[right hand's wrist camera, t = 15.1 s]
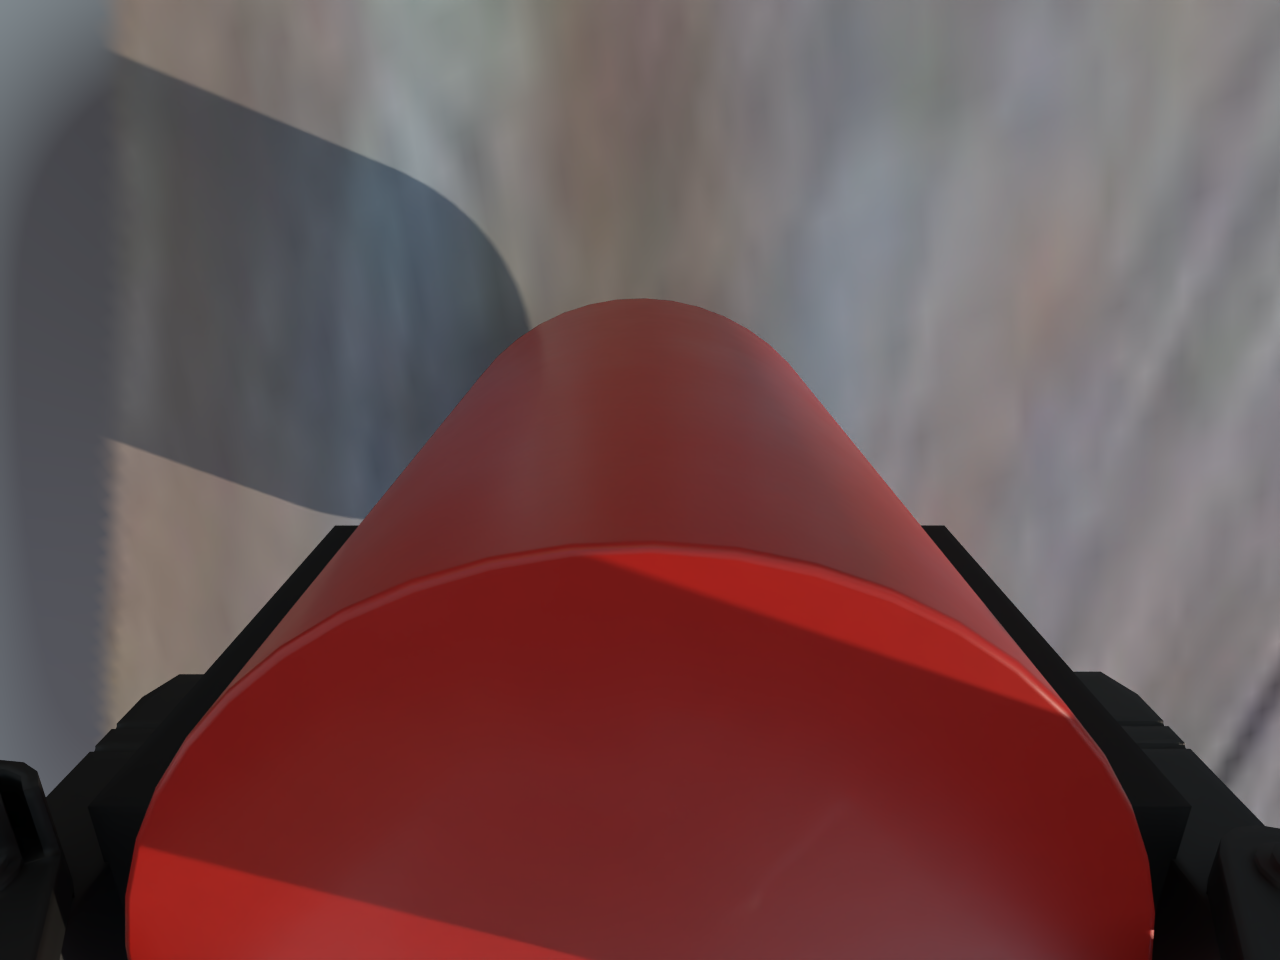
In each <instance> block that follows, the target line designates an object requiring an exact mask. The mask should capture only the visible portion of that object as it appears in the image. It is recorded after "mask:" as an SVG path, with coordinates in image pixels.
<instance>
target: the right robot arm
mask: <svg viewBox="0 0 1280 960" xmlns="http://www.w3.org/2000/svg"><path fill="white" fill-rule="evenodd" d="M357 527H358V526H334V528H333V529H332V530H331V531H330V532H329V533H328V534H327V535H326V537H325V538H324V539H323V540H322V541H321V542H320V543H319V545H318V546H317V547H316V548H315V549H314V550H313V551H312V552H311V554H310V555H309V556H308V557H307V558H306V559H305V560H304V562H303V563H302V564H301V565H300V566H299V567H298V568H297V569H296V571H295V572H294V573H293V574H292V575H291V576H290V577H289V579H288V580H287V581H286V582H285V583H284V584H283V585H282V586H281V588H280V589H279V590H278V591H277V592H276V593H275V594H274V596H273V597H272V598H271V599H270V600H269V601H268V602H267V604H266V605H265V606H264V607H263V608H262V609H261V610H260V611H259V613H258V614H257V615H256V616H255V617H254V618H253V619H252V621H251V622H250V623H249V624H248V625H247V626H246V627H245V628H244V630H243V631H242V632H241V633H240V634H239V635H238V636H237V638H236V639H235V640H234V641H233V642H232V643H231V644H230V645H229V647H228V648H227V649H226V650H225V651H224V652H223V653H222V655H221V656H220V657H219V658H218V659H217V660H216V661H215V662H214V664H213V665H212V666H211V667H210V668H209V669H208V670H207V672H206V673H205V674H179V675H178V676H176V677H174V678H173V679H171V680H170V681H168V682H166V683H165V684H163V685H161V686H160V687H158V688H157V689H155V690H153V691H152V692H150V693H148V694H147V695H145V696H144V697H142V698H141V699H140V700H139V701H138V702H137V703H136V704H135V705H134V706H133V708H132V709H131V710H130V711H129V712H128V713H127V714H126V715H125V716H124V717H123V718H122V719H121V720H120V721H119V722H118V723H117V728H116V729H111V730H110V731H109V732H108V734H107V735H106V736H105V737H104V738H103V739H102V740H101V741H100V742H99V743H98V744H97V745H96V746H95V747H96V748H95V751H94V752H89V753H88V754H87V755H86V756H85V757H84V758H83V760H82V761H81V762H80V763H79V764H78V765H77V766H76V767H75V768H74V769H73V770H72V771H71V772H70V773H69V774H68V775H67V776H66V777H65V778H64V779H63V780H62V781H61V782H60V783H59V784H58V786H57V787H56V788H55V789H54V790H53V791H52V792H51V793H50V794H49V795H48V796H47V797H45V794H44V791H43V788H42V785H41V782H40V778H39V775H38V772H37V771H36V770H34V769H33V768H31V767H30V766H28V765H27V764H25V763H24V762H15V761H5V760H0V960H128V958H127V952H126V947H125V895H126V889H127V884H128V879H129V873H130V868H131V862H132V857H133V852H134V846H135V841H136V837H137V835H138V832H139V829H140V827H141V824H142V822H143V819H144V816H145V814H146V811H147V809H148V806H149V804H150V801H151V798H152V796H153V793H154V791H155V788H156V786H157V784H158V783H159V781H160V780H161V778H162V776H163V775H164V773H165V771H166V770H167V768H168V766H169V765H170V763H171V762H172V760H173V758H174V757H175V755H176V753H177V752H178V750H179V748H180V747H181V745H182V744H183V742H184V740H185V739H186V737H187V736H188V735H189V733H190V732H191V731H192V730H193V728H194V727H195V726H196V725H197V724H198V722H199V721H200V720H201V719H202V717H203V716H204V715H205V714H206V713H207V711H208V710H209V709H210V708H211V706H212V705H213V704H214V703H215V701H216V700H217V699H218V698H219V697H220V695H221V694H222V693H223V692H224V690H225V689H226V688H227V687H228V686H229V684H230V683H231V682H232V681H233V679H234V678H235V677H236V676H237V674H238V673H239V672H240V671H241V670H242V668H243V667H244V666H245V665H246V663H247V662H248V661H249V660H250V659H251V657H252V656H253V655H254V654H255V652H256V651H257V650H258V649H259V647H260V646H261V645H262V644H263V643H264V641H265V640H266V639H267V638H268V636H269V635H270V634H271V633H272V632H273V630H274V629H275V628H276V627H277V625H278V624H279V623H280V622H281V621H282V619H283V618H284V617H285V616H286V614H287V613H288V612H289V611H290V609H291V608H292V607H293V606H294V605H295V603H296V602H297V601H298V600H299V598H300V597H301V596H302V595H303V594H304V592H305V591H306V590H307V589H308V587H309V586H310V585H311V584H312V582H313V581H314V580H315V579H316V578H317V576H318V575H319V574H320V573H321V571H322V570H323V569H324V568H325V567H326V565H327V564H328V563H329V562H330V560H331V559H332V558H333V557H334V555H335V554H336V553H337V552H338V551H339V549H340V548H341V547H342V546H343V544H344V543H345V542H346V541H347V540H348V538H349V537H350V536H351V535H352V533H353V532H354V531H355V530H356V528H357ZM921 527H922V528H923V529H924V531H925V532H926V533H927V534H928V535H929V537H930V538H931V539H932V540H933V542H934V543H935V544H936V545H937V547H938V548H939V549H940V550H941V551H942V553H943V554H944V555H945V556H946V558H947V559H948V560H949V561H950V563H951V564H952V565H953V566H954V567H955V569H956V570H957V571H958V572H959V574H960V575H961V576H962V577H963V578H964V580H965V581H966V582H967V583H968V585H969V586H970V587H971V588H972V590H973V591H974V592H975V593H976V594H977V596H978V597H979V598H980V599H981V601H982V602H983V603H984V604H985V606H986V607H987V608H988V609H989V610H990V612H991V613H992V614H993V615H994V617H995V618H996V619H997V620H998V621H999V623H1000V624H1001V625H1002V626H1003V628H1004V629H1005V630H1006V631H1007V633H1008V634H1009V635H1010V636H1011V637H1012V639H1013V640H1014V641H1015V642H1016V644H1017V645H1018V646H1019V647H1020V649H1021V650H1022V651H1023V652H1024V653H1025V655H1026V656H1027V657H1028V658H1029V660H1030V661H1031V662H1032V663H1033V665H1034V666H1035V667H1036V668H1037V669H1038V671H1039V672H1040V673H1041V674H1042V676H1043V677H1044V678H1045V679H1046V680H1047V682H1048V683H1049V684H1050V685H1051V687H1052V688H1053V689H1054V690H1055V692H1056V693H1057V694H1058V695H1059V696H1060V698H1061V699H1062V700H1063V701H1064V703H1065V704H1066V705H1067V706H1068V708H1069V709H1070V710H1071V711H1072V713H1073V714H1074V715H1075V717H1076V718H1077V719H1078V720H1079V722H1080V723H1081V724H1082V726H1083V727H1084V728H1085V729H1086V731H1087V732H1088V733H1089V735H1090V736H1091V737H1092V738H1093V740H1094V741H1095V742H1096V744H1097V745H1098V746H1099V748H1100V749H1101V750H1102V751H1103V753H1104V754H1105V756H1106V758H1107V759H1108V761H1109V763H1110V765H1111V767H1112V769H1113V771H1114V773H1115V775H1116V776H1117V778H1118V780H1119V782H1120V784H1121V786H1122V788H1123V790H1124V792H1125V793H1126V795H1127V797H1128V799H1129V801H1130V803H1131V805H1132V808H1133V811H1134V814H1135V817H1136V821H1137V824H1138V827H1139V830H1140V833H1141V836H1142V840H1143V843H1144V846H1145V849H1146V852H1147V855H1148V860H1149V867H1150V875H1151V884H1152V892H1153V900H1154V909H1155V923H1154V938H1153V953H1152V960H1280V829H1279V828H1273V827H1267V826H1264V825H1263V823H1262V822H1261V821H1260V820H1259V819H1258V818H1257V817H1256V816H1255V815H1254V814H1253V813H1252V812H1251V811H1250V810H1249V809H1248V808H1247V807H1246V806H1245V805H1244V804H1243V803H1242V802H1241V801H1240V800H1239V799H1238V798H1237V797H1236V796H1235V795H1234V794H1233V792H1232V791H1231V790H1230V789H1229V788H1228V787H1227V786H1226V785H1225V784H1224V783H1223V782H1222V781H1221V780H1220V779H1219V778H1218V777H1217V776H1216V775H1215V774H1214V773H1213V772H1212V771H1211V770H1210V769H1209V768H1208V767H1207V766H1206V765H1205V764H1204V763H1203V761H1202V760H1201V759H1200V758H1199V757H1198V756H1197V755H1196V754H1195V753H1194V752H1193V751H1192V750H1191V749H1186V748H1185V743H1184V742H1183V741H1182V740H1181V739H1180V738H1179V737H1178V736H1177V735H1176V734H1175V733H1174V732H1173V731H1172V729H1171V728H1170V727H1169V726H1164V724H1163V720H1162V719H1161V718H1160V717H1159V716H1158V715H1157V714H1156V713H1155V712H1154V711H1153V710H1152V709H1151V708H1150V707H1149V706H1148V705H1147V704H1146V703H1145V702H1144V701H1143V700H1142V698H1141V697H1140V696H1139V695H1138V694H1136V693H1134V692H1133V691H1131V690H1130V689H1128V688H1126V687H1125V686H1123V685H1121V684H1120V683H1118V682H1116V681H1115V680H1113V679H1112V678H1110V677H1108V676H1107V675H1105V674H1103V673H1102V672H1073V671H1072V670H1071V669H1070V668H1069V667H1068V665H1067V664H1066V663H1065V662H1064V661H1063V660H1062V659H1061V657H1060V656H1059V655H1058V654H1057V653H1056V652H1055V651H1054V650H1053V648H1052V647H1051V646H1050V645H1049V644H1048V643H1047V642H1046V640H1045V639H1044V638H1043V637H1042V636H1041V635H1040V634H1039V633H1038V631H1037V630H1036V629H1035V628H1034V627H1033V626H1032V625H1031V623H1030V622H1029V621H1028V620H1027V619H1026V618H1025V617H1024V615H1023V614H1022V613H1021V612H1020V611H1019V610H1018V609H1017V608H1016V606H1015V605H1014V604H1013V603H1012V602H1011V601H1010V600H1009V598H1008V597H1007V596H1006V595H1005V594H1004V593H1003V592H1002V591H1001V589H1000V588H999V587H998V586H997V585H996V584H995V583H994V581H993V580H992V579H991V578H990V577H989V576H988V575H987V574H986V572H985V571H984V570H983V569H982V568H981V567H980V566H979V564H978V563H977V562H976V561H975V560H974V559H973V558H972V556H971V555H970V554H969V553H968V552H967V551H966V550H965V549H964V547H963V546H962V545H961V544H960V543H959V542H958V541H957V539H956V538H955V537H954V536H953V535H952V534H951V533H950V532H949V530H948V529H947V528H946V527H945V526H921Z"/></svg>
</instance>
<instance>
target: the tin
mask: <svg viewBox="0 0 1280 960" xmlns="http://www.w3.org/2000/svg"><path fill="white" fill-rule="evenodd" d="M1154 923H1155V909H1154V900H1153V892H1152V884H1151V875H1150V867H1149V860H1148V855H1147V852H1146V849H1145V846H1144V843H1143V840H1142V836H1141V833H1140V830H1139V827H1138V824H1137V821H1136V817H1135V814H1134V811H1133V808H1132V805H1131V803H1130V801H1129V799H1128V797H1127V795H1126V793H1125V792H1124V790H1123V788H1122V786H1121V784H1120V782H1119V780H1118V778H1117V776H1116V775H1115V773H1114V771H1113V769H1112V767H1111V765H1110V763H1109V761H1108V759H1107V758H1106V756H1105V754H1104V753H1103V751H1102V750H1101V749H1100V748H1099V746H1098V745H1097V744H1096V742H1095V741H1094V740H1093V738H1092V737H1091V736H1090V735H1089V733H1088V732H1087V731H1086V729H1085V728H1084V727H1083V726H1082V724H1081V723H1080V722H1079V720H1078V719H1077V718H1076V717H1075V715H1074V714H1073V713H1072V711H1071V710H1070V709H1069V708H1068V706H1067V705H1066V704H1065V703H1064V701H1063V700H1062V699H1061V698H1060V696H1059V695H1058V694H1057V693H1056V692H1055V690H1054V689H1053V688H1052V687H1051V685H1050V684H1049V683H1048V682H1047V680H1046V679H1045V678H1044V677H1043V676H1042V674H1041V673H1040V672H1039V671H1038V669H1037V668H1036V667H1035V666H1034V665H1033V663H1032V662H1031V661H1030V660H1029V658H1028V657H1027V656H1026V655H1025V653H1024V652H1023V651H1022V650H1021V649H1020V647H1019V646H1018V645H1017V644H1016V642H1015V641H1014V640H1013V639H1012V637H1011V636H1010V635H1009V634H1008V633H1007V631H1006V630H1005V629H1004V628H1003V626H1002V625H1001V624H1000V623H999V621H998V620H997V619H996V618H995V617H994V615H993V614H992V613H991V612H990V610H989V609H988V608H987V607H986V606H985V604H984V603H983V602H982V601H981V599H980V598H979V597H978V596H977V594H976V593H975V592H974V591H973V590H972V588H971V587H970V586H969V585H968V583H967V582H966V581H965V580H964V578H963V577H962V576H961V575H960V574H959V572H958V571H957V570H956V569H955V567H954V566H953V565H952V564H951V563H950V561H949V560H948V559H947V558H946V556H945V555H944V554H943V553H942V551H941V550H940V549H939V548H938V547H937V545H936V544H935V543H934V542H933V540H932V539H931V538H930V537H929V535H928V534H927V533H926V532H925V531H924V529H923V528H922V527H921V526H920V524H919V523H918V522H917V521H916V519H915V518H914V517H913V516H912V515H911V513H910V512H909V511H908V510H907V508H906V507H905V506H904V505H903V504H902V502H901V501H900V500H899V499H898V497H897V496H896V495H895V494H894V492H893V491H892V490H891V489H890V488H889V486H888V485H887V484H886V483H885V481H884V480H883V479H882V478H881V476H880V475H879V474H878V473H877V472H876V470H875V469H874V468H873V467H872V465H871V464H870V463H869V462H868V460H867V459H866V458H865V457H864V456H863V454H862V453H861V452H860V451H859V449H858V448H857V447H856V446H855V445H854V443H853V442H852V441H851V440H850V438H849V437H848V436H847V435H846V433H845V432H844V431H843V430H842V429H841V427H840V426H839V425H838V424H837V422H836V421H835V420H834V419H833V417H832V416H831V415H830V414H829V413H828V411H827V410H826V409H825V408H824V406H823V405H822V404H821V403H820V402H819V400H818V399H817V398H816V397H815V395H814V394H813V393H812V392H811V390H810V389H809V388H808V387H807V386H806V384H805V383H804V382H803V381H802V379H801V378H800V377H799V376H798V374H797V373H796V372H795V371H794V370H793V368H792V367H791V366H790V365H789V363H788V362H787V361H786V360H785V359H784V358H782V357H781V356H780V355H779V354H778V353H777V352H776V351H775V350H774V349H773V348H772V347H771V346H770V345H769V344H768V343H766V342H765V341H763V340H762V339H761V338H759V337H758V336H757V335H755V334H754V333H752V332H751V331H750V330H748V329H747V328H745V327H743V326H741V325H739V324H737V323H735V322H733V321H732V320H730V319H728V318H726V317H724V316H721V315H719V314H716V313H713V312H711V311H708V310H705V309H703V308H700V307H696V306H692V305H688V304H683V303H679V302H674V301H667V300H655V299H622V300H613V301H607V302H601V303H596V304H590V305H587V306H584V307H581V308H578V309H575V310H571V311H568V312H565V313H563V314H561V315H559V316H556V317H554V318H552V319H550V320H548V321H546V322H544V323H542V324H540V325H538V326H537V327H535V328H534V329H532V330H531V331H529V332H528V333H526V334H524V335H523V336H521V337H520V338H518V339H517V340H516V341H515V342H514V343H512V344H511V345H510V346H509V347H508V348H507V349H506V350H504V351H503V352H502V353H501V354H500V355H499V356H498V357H497V358H496V359H495V360H494V361H493V362H492V364H491V365H490V366H489V367H488V368H487V369H486V371H485V372H484V373H483V374H482V375H481V376H480V378H479V379H478V380H477V381H476V382H475V384H474V385H473V386H472V387H471V389H470V390H469V391H468V392H467V394H466V395H465V396H464V397H463V398H462V400H461V401H460V402H459V403H458V405H457V406H456V407H455V408H454V409H453V411H452V412H451V413H450V414H449V416H448V417H447V418H446V419H445V421H444V422H443V423H442V424H441V425H440V427H439V428H438V429H437V430H436V432H435V433H434V434H433V435H432V436H431V438H430V439H429V440H428V441H427V443H426V444H425V445H424V446H423V448H422V449H421V450H420V451H419V452H418V454H417V455H416V456H415V457H414V459H413V460H412V461H411V462H410V463H409V465H408V466H407V467H406V468H405V470H404V471H403V472H402V473H401V474H400V476H399V477H398V478H397V479H396V481H395V482H394V483H393V484H392V486H391V487H390V488H389V489H388V490H387V492H386V493H385V494H384V495H383V497H382V498H381V499H380V500H379V501H378V503H377V504H376V505H375V506H374V508H373V509H372V510H371V511H370V513H369V514H368V515H367V516H366V517H365V519H364V520H363V521H362V522H361V524H360V525H359V526H358V527H357V528H356V530H355V531H354V532H353V533H352V535H351V536H350V537H349V538H348V540H347V541H346V542H345V543H344V544H343V546H342V547H341V548H340V549H339V551H338V552H337V553H336V554H335V555H334V557H333V558H332V559H331V560H330V562H329V563H328V564H327V565H326V567H325V568H324V569H323V570H322V571H321V573H320V574H319V575H318V576H317V578H316V579H315V580H314V581H313V582H312V584H311V585H310V586H309V587H308V589H307V590H306V591H305V592H304V594H303V595H302V596H301V597H300V598H299V600H298V601H297V602H296V603H295V605H294V606H293V607H292V608H291V609H290V611H289V612H288V613H287V614H286V616H285V617H284V618H283V619H282V621H281V622H280V623H279V624H278V625H277V627H276V628H275V629H274V630H273V632H272V633H271V634H270V635H269V636H268V638H267V639H266V640H265V641H264V643H263V644H262V645H261V646H260V647H259V649H258V650H257V651H256V652H255V654H254V655H253V656H252V657H251V659H250V660H249V661H248V662H247V663H246V665H245V666H244V667H243V668H242V670H241V671H240V672H239V673H238V674H237V676H236V677H235V678H234V679H233V681H232V682H231V683H230V684H229V686H228V687H227V688H226V689H225V690H224V692H223V693H222V694H221V695H220V697H219V698H218V699H217V700H216V701H215V703H214V704H213V705H212V706H211V708H210V709H209V710H208V711H207V713H206V714H205V715H204V716H203V717H202V719H201V720H200V721H199V722H198V724H197V725H196V726H195V727H194V728H193V730H192V731H191V732H190V733H189V735H188V736H187V737H186V739H185V740H184V742H183V744H182V745H181V747H180V748H179V750H178V752H177V753H176V755H175V757H174V758H173V760H172V762H171V763H170V765H169V766H168V768H167V770H166V771H165V773H164V775H163V776H162V778H161V780H160V781H159V783H158V784H157V786H156V788H155V791H154V793H153V796H152V798H151V801H150V804H149V806H148V809H147V811H146V814H145V816H144V819H143V822H142V824H141V827H140V829H139V832H138V835H137V837H136V841H135V846H134V852H133V857H132V862H131V868H130V873H129V879H128V884H127V889H126V895H125V947H126V952H127V958H128V960H1152V953H1153V938H1154Z"/></svg>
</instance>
